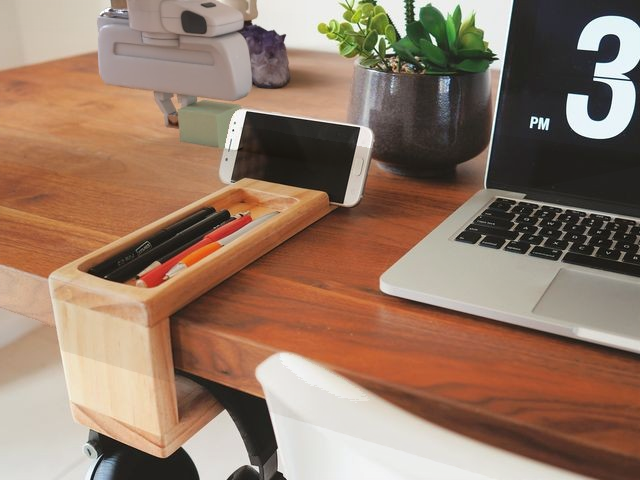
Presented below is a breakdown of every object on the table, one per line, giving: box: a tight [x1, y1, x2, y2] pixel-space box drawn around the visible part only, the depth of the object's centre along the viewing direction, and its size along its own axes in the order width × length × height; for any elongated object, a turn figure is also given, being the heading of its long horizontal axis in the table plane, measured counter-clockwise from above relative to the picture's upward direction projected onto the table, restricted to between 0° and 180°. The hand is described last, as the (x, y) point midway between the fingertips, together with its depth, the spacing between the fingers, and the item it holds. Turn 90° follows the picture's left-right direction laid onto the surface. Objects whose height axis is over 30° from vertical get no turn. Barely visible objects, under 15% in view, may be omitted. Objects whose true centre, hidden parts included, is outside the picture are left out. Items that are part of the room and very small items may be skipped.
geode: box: [236, 23, 291, 89], centre depth 127 cm, size 20×12×10 cm, turn 30°
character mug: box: [221, 0, 259, 26], centre depth 147 cm, size 11×7×13 cm, turn 35°
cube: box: [176, 99, 242, 150], centre depth 89 cm, size 6×6×6 cm
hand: (178, 127), depth 91 cm, fingers closed
